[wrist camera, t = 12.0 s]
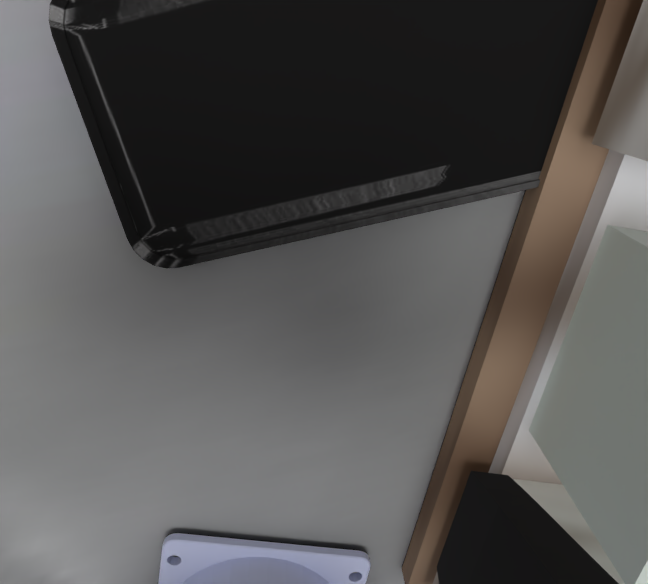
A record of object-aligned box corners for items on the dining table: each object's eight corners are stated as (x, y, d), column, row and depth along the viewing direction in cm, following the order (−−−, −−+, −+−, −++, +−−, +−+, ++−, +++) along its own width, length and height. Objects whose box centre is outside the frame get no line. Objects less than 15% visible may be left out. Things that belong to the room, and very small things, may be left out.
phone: (33, -16, 14) (650, -165, 13) (51, -12, 15) (624, -150, 14) (142, 279, 17) (646, 167, 16) (151, 266, 18) (625, 160, 17)
